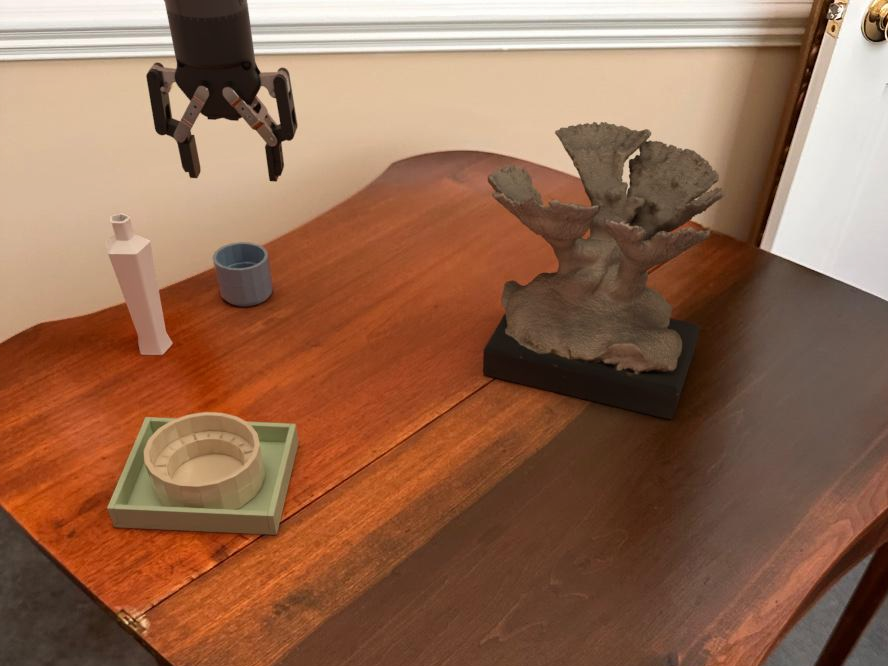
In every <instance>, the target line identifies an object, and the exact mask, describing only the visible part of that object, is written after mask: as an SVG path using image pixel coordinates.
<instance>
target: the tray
mask: <svg viewBox="0 0 888 666" xmlns="http://www.w3.org/2000/svg"><path fill="white" fill-rule="evenodd" d="M177 418H178V417H176V418H175V417H157V416H156V417H155V416H152V417H151V416H144V420H143V422H142V424H141V426H140V429H139V432H138V434H137V437H136V438H135V441H134V443H133V445H132V449H131V450H130V453H129V455H128V458H127V459H126V462H125V465H124V466H123V469H122V472H121V473H120V477H119V479H118V481H117V483H116V486H115V488H114V491H113V493H112V495H111V498H110V500H109V503H108V504H107V507H106V510H107V512H108V514H109V517H110V520H111V523H112V525H113V528H116V529H117V528H121V529H139V530H140V529H141V530H159V531H160V530H162V531H184V532H203V533H205V532H206V533H225V534H227V533H228V534H245V535H246V534H247V535H248V534H249V535H267V536H268V535H269V536H277V535H278V533H279V528H280V523H281V519H282V515H283V511H284V506H285V502H286V498H287V493H288V489H289V485H290V481H291V476H292V472H293V468H294V464H295V459H296V457H297V452H298V447H299V436H298V428H297V423H288V422H267V421H266V422H265V421H263V422H262V421H246V422H247V423H249V424H250V425H251V426H252V427H253V429H254V430H255V431H256V432H257V434H258V438H259V443H260V448H261V453H262V458H263V464H264V469H265V478H264V482H263V486H262V488H261V489H260V491H259V492H258V493H257V495H256V496H255V497H254V498H253V499H252V500H250V501H249V502H248V503H246V504H245V505H243V506H242V507H241V508H238V509H236V510H227V509H206V508H184V507H165V506H164V505H162V504H161V503H160V501H159V500H158V498H157V497H156V495H155V494H154V491H153V487H152V484H151V481H150V478H149V475H148V472H147V469H146V466H145V463H144V449H145V446H146V444H147V441H148V440H149V438H150V437H151V436H152V435H153V434H154V433H155V432H156V431H157V429H159V428H160V427H162V426H163V425H165V424H167V423H168V422H170V421H172V420H174V419H177Z"/></svg>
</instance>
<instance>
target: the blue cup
mask: <svg viewBox="0 0 888 666" xmlns="http://www.w3.org/2000/svg"><path fill="white" fill-rule="evenodd" d="M212 262H213V267H214V272H215V278H216V283H217V289H218V293H219V295H220V297H221V298H222V299H223V300H224V301H226V302H227V303H228V304H230V305H233V306H236V307H252V306H257V305H260V304H262V303H263V302H265V301H267V300H268V298H269V297H270V296H272V293H273V290H274V285H273V279H272V278H273V277H272V271H271V270H272V269H271V264H270V257H269V253H268V251H267V249H266V248H265V247H264V246H262V245H260V244H257V243H254V242H248V241H247V242H245V241H238V242H231V243H227V244H226V245H222V246H221V247H219V248H218V249H217V250H215V251H214V253H213V256H212Z"/></svg>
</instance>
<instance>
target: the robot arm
mask: <svg viewBox="0 0 888 666" xmlns="http://www.w3.org/2000/svg"><path fill="white" fill-rule="evenodd" d="M163 1H164V5H165V10H166V15H167V20H168V26H169V30H170V31H169V32H170V36H171V41H172V46H173V52H174V56H175V61H176V68H173V67H165V66H164V65H163V64H162V63H161V62H158V61H156V62H154V63H153V64H152V65H151V67H150V68H149V69H148V71H147V73H146V76H145V77H146V83H147V91H148V96H149V102H150V107H151V113H152V119H153V126H154V130H155V132H156V134H158V135H159V136H165V135H166V136H169V137H171V138H173V139H174V140H175V142H176V144H177V148H178V153H179V157H180V164H181V167H182V169H183V171H184V173H188V177H189V178H190V179H198V178H199V176H200V174H201V172H202V170H201V163H200V157H199V152H198V147H197V142H196V137H195V134H192V128H193V127H194V125H195V123H196V120H198V118H199V116H200V115H202V116H204V117H206V118H207V120H211V121H213V120H214V121H216V120H219V119H225V120H228V121H233V122H239V119H243V120H244V121H245V123H246V124H247V125H248V126H249V127H250V129H252V130H255V131H256V133H257V134H258V135H259V136H260V138H261V139H262V140H263V141H264V142H265V145H264V150H265V158H266V166H267V173H268V180H269V182H274V183H275V182H278V180H279V177H281V176H282V174H283V171H284V168H285V162H284V154H283V153H284V152H283V144H282V143H283V142H286V141H288V142H290V141H293V139H294V137H295V134H296V132H297V129H298V119H297V114H296V113H297V112H296V107H295V100H294V94H293V87H292V81H291V75H290V72H289V70H288V69H287V68H286V67H280V68H278V70H277V71H272V72H271V71H270V72H268V71H266V72H261V71H260V69H259V66H258V65H257V62H256V57H255V56H256V55H255V50H254V49H255V47H254V41H253V34H252V26H251V19H250V12H249V3H248V0H163ZM174 83H175V84H176V85H177V87H178V88H179V90H180V91H181V92H182V93H183V94H184V95H185V97H186V98H187V99H188V100H189V101H190V102H189V103H188V105H187V107H186V109H185V111H184V113H183V114H182V116H181V118H180V120H178V119H176V118H173V113H172V107H171V100H170V94H169V93H170V92H171V91H172V89H173V87H174ZM262 87H264V88H265V89H266V90H267V92H268V95H269V96H270V97H271V98H273V99H275V102H276V107H277V113H278V118H279V124H278V123H277V122H276V121H275V120H274V119H273V117H272V115H270V114H269V113H270V112H269V111H268V108H267V107H266V105H264V103H263V102H262V101H261V99H260V98H259V97H258V96H257V95H258V94H259V91H260V89H261V88H262Z"/></svg>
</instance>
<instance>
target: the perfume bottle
mask: <svg viewBox="0 0 888 666" xmlns="http://www.w3.org/2000/svg"><path fill="white" fill-rule="evenodd" d="M131 218H132V216H131V215H129V214H126V213H124V212H119V213H116V214H112V215H110V216H108V220H109V223H110V224H111V226H112V229H113V234H114V235H112V236H111V237H109V238H107V239H106V240H105V246H106V251H107V255H108V257H109V260H110V262H111V266H112V269H113V271H114V275H115V277H116V278H117V282H118V285H119V288H120V290H121V293H122V295H123V299H124V301H125V304H126V307H127V310H128V312H129V315H130V317H131V320H132V323H133V326H134V329H135V331H136V334H137V341H138V342H137V344H138V348H139V354H140V355H142V356H163V355H164V354H165V353H166V352H167V351H168V350H169V349H170V348H171V347H172V346H173V344H174V343H173V341H172V339H171V337H170V336H169V334H168V333H167V330H166V324H165V317H164V312H163V307H162V301H161V294H160V291H159V290H160V289H159V283H158V278H157V273H156V267H155V261H154V255H153V249H152V243H151V240H150V239H148V238H146V237H143V236H141V235H139V234H136V233H134V230H133V226H132V222H131Z"/></svg>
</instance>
